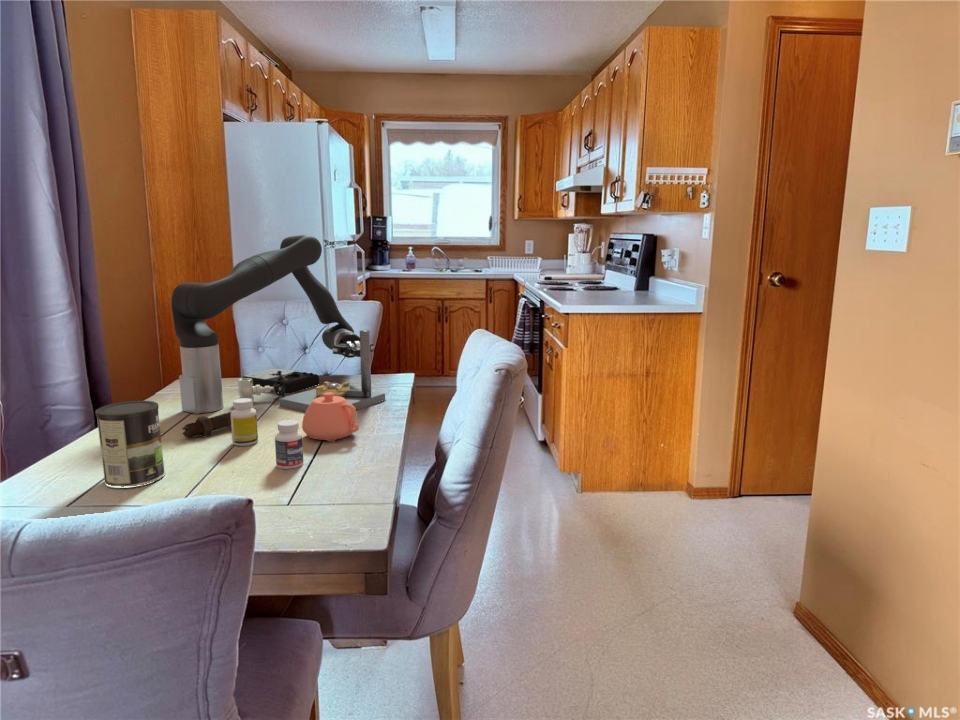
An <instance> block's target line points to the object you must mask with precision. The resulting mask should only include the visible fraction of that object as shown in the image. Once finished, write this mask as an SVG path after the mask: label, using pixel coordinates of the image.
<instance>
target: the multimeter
mask: <svg viewBox="0 0 960 720" xmlns="http://www.w3.org/2000/svg"><path fill="white" fill-rule="evenodd" d="M279 376H283V380H284V388H285V392H284V394H285V395H286V394H288V395H290V393H291V394H294V393H297V392H301V391H304V390H307V389H310V388H309V387H311V388H313V387H312V386H314V387H316V386H315V385H317V386H319V385H320V376H319V375H318V374H316V373H312V372H310V373H308V372H306V371H304V372H303V371H295V370H288V369H281V368H271V369H266V370H262V371H257V372H254V373H250V374H246V375H243V376H242V377H241V379H243V378H251V379H253V385H252V386H255V385H260V386H262V387H265V386H270V387H273V385H274V384H275V383H276V382H279V381H278V378H279ZM318 384H319V385H318ZM306 388H307V389H306ZM303 389H304V390H303ZM300 390H301V391H300ZM273 391H274V390H271V391H270V392H273ZM293 392H294V393H293Z"/></svg>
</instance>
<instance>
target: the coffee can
mask: <svg viewBox="0 0 960 720" xmlns="http://www.w3.org/2000/svg"><path fill="white" fill-rule="evenodd" d="M159 407H160V406H159V403H158V402H156V401H152V400H151V401H150V400H128V401H122V402H116V403H110V404H107V405H103V406H101V407H98V408H97V409H96V410H95V416H96V419H97V429H98V439H99V444H100V445H99V446H100V453H101V462H102V468H103V477H104V482H105V483H106V484H108V485H111V486H121V487H124V486H137V485H144V484H147V483H150V482H153V481H156V480H158V479H160V478H161V477H163V475H164V474H166V472H165V467H164V466H165V465H164V455H163V445H162V435H161V423H160V415H159ZM163 478H164V477H163ZM160 480H161V479H160Z"/></svg>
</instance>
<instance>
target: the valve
mask: <svg viewBox="0 0 960 720" xmlns="http://www.w3.org/2000/svg"><path fill="white" fill-rule="evenodd" d="M278 381H279V382H276V383H275V384H274V385H273V387H270V386H265V387H262V386H260V385H255V386H252V385H253V379H251V378H243V379H242V378H239V379H238V380H237V386H238V388H237V393H238V396H239V398H238V399H241V398H249V399H252V402H253V403H254V402H255V397H254V395H256V396H261V395H262V394H263V393H266V394H267V393H270V392H272V391H271V390H274V392H273V393H275V395H276V396H279V399H280V398H283V397H286V393H284V392H285V388H284V380H283V376H279V378H278Z"/></svg>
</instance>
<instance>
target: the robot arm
mask: <svg viewBox="0 0 960 720" xmlns="http://www.w3.org/2000/svg"><path fill="white" fill-rule="evenodd" d="M279 246H280V247H279V249H275V250H270V251H266V252H261V253H258V254H255V255H253V256H250V257H248V258H245V259H243V260H241V261H239V262H238V263H236V265H234V267H233V268H232V269H231V271H230V272H229V274H228V275H227V276H224V277H223V278H220V279H218V280H215V281H211V282H203V283H201V282H182V283H179V284H178V285H176V286H175V288H173V291H172V294H171V299H170V300H171V301H170V303H171V313H172V320H173V326H174V332H175V335H176V338H178V340H179V341H178V342H179V349H180V361H181V362H180V363H181V373H182V374H180V375H179V376H178V379H179V389H180V390H179V391H180V401H181V411H183V412H187V413H190V414H194V415H198V414H204V413H205V414H206V413H212V412H217V411H219V410H222V409H223V408H224V398H223V397H224V396H223V386H222V385H223V383H222V373H221V371H222V370H221V358H220V348H219V347H220V346H219V344H220V343H219V336H218V334H217V332H216V331H214V330H212V329H211V328H210V327H209V325H207V323H206V320H210V319H213V318H215V317H216V316H219V315H220V314H221V313H223V312H224V311H226V310H227V309H229V307H232V306H233V305H234V304H235V303H237V302H239V301H241V300H242V299H245V298H247V297H249V296H251V295H253V294H255V293H257V292H259V291H261V290H263V289H265V288H267V287H269V286H271V285H272V284H274V283H276V282H277V281H280V280H282V279H284V278H285V277H287V276H288V275H290V274H292V275H293V276H294V278H295V280H296V281H297V283H298V284H299V286H300V287H301V288H302V290H303V292H305V294H306V295H307V298H308V300H309V301H310V304H311V305H312V307H313V311H314V312H315V314H316V316H317V319H318V321H319V322H320V323H321V324H323V325H330V324H334V323H335V325H332V326H330V327H329V328H326V329H325V330H324V331H323V332H322V335H321V339H322V343H323V344H324V346H326V347H327V349H329V350H330V351H332V354H333V355H339V356H340V355H341V356H343V357H345V358H348V359H353V358H360V335H359V336H358V335H357V334H356V333H355V330H354V329H353V327H352V326H351V324H350V323H349V322H348V321H347V320H346V319H345V318H344V317H343V315H342V313H341V312H340V310H339V307H338V306H337V303H336V301H335V299H334V297H333V295H332V293H331V292H330V291H329V289H327V287H325V285H324V284H323V283H321V282H320V280H318V279H317V277H316V276H314V274H313V273H312V271H311V270H310V269H309V267H308V266H312V265H315V264H316V263H317V262H318V261H319V260H320V258H321V256H322V251H323V248H322V244H321V242H320V240H318V238H316V237H315V236H313V235H309V234H302V235H301V234H300V235H293V236H292V235H291V236H288V237H285V238H284V239H282V241H281V242H280V245H279ZM336 323H337V324H336ZM374 347H375V344H374V342H370V353H373V352H374V350H375V348H374Z"/></svg>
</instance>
